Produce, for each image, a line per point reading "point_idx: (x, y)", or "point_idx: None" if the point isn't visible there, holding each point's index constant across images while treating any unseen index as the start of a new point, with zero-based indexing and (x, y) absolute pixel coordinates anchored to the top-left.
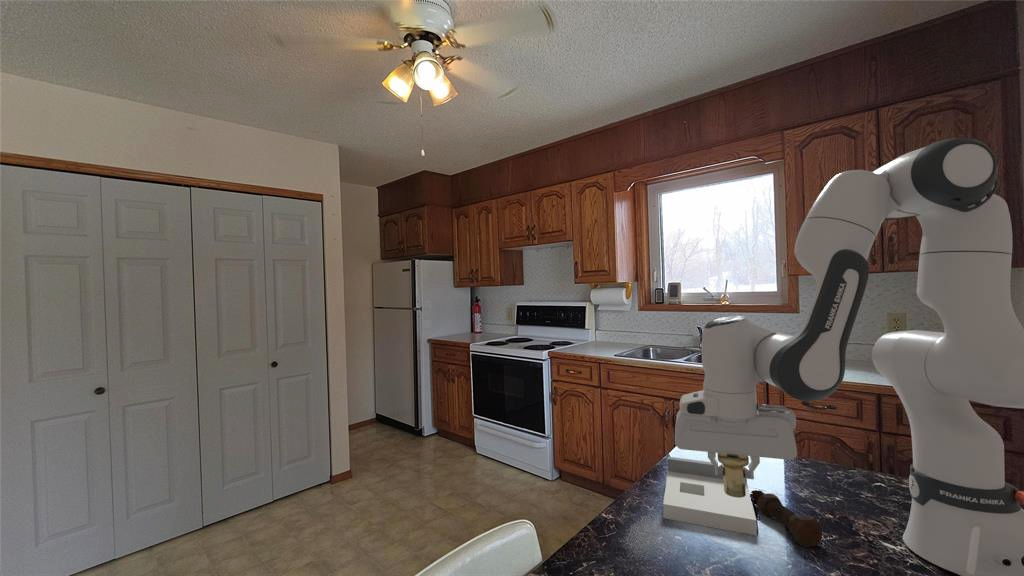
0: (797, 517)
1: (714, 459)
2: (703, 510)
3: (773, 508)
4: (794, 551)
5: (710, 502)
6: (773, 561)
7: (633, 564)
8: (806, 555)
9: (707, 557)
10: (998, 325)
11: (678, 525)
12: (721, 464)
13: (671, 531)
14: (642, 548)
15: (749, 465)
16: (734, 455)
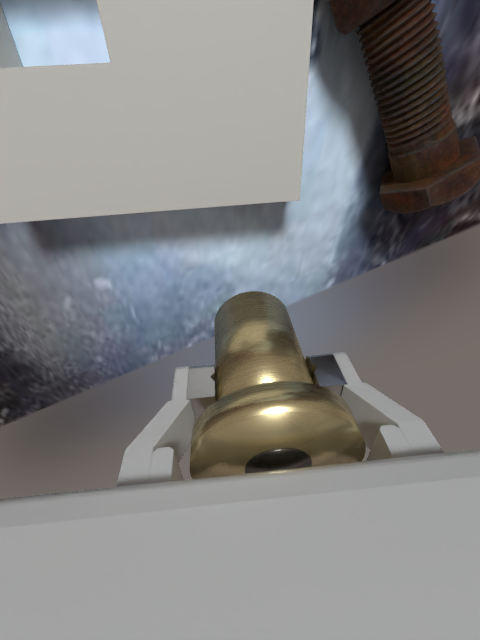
0: (428, 195)
1: (175, 450)
2: (139, 209)
3: (384, 62)
4: (360, 224)
5: (148, 128)
6: (303, 282)
7: (67, 391)
8: (380, 229)
9: (180, 324)
10: None
11: (82, 229)
12: (209, 404)
13: (78, 266)
14: (55, 350)
15: (349, 397)
16: (288, 465)
